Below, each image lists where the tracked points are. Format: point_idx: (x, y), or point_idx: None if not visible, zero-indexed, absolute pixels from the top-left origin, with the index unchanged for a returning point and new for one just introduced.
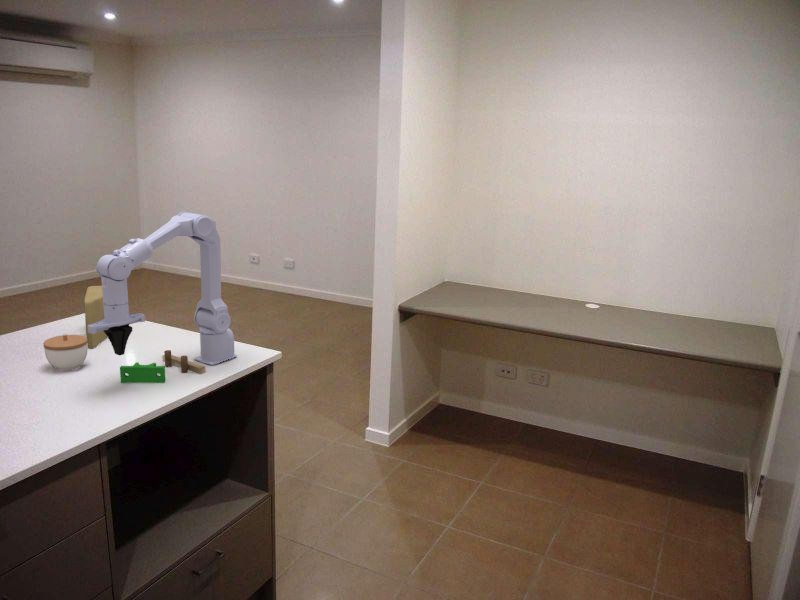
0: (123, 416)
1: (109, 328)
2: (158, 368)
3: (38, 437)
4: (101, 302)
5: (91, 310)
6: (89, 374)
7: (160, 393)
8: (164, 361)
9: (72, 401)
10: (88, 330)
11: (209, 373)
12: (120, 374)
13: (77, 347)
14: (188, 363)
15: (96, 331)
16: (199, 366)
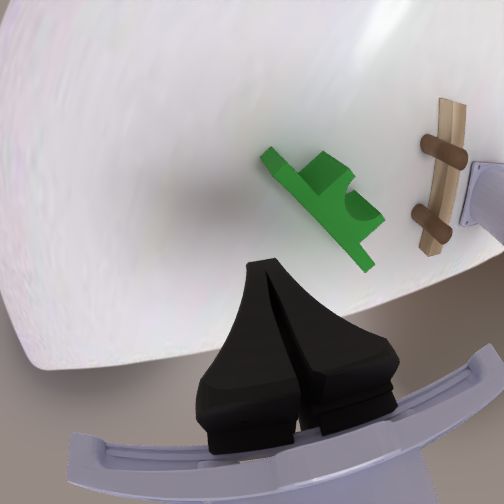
0: (172, 342)
1: (220, 460)
2: (356, 262)
3: (41, 324)
4: None
5: None
6: (215, 8)
7: None
8: (440, 107)
9: (87, 213)
10: (73, 449)
11: None
12: (266, 165)
13: None
14: (442, 213)
15: (124, 452)
16: (435, 248)
